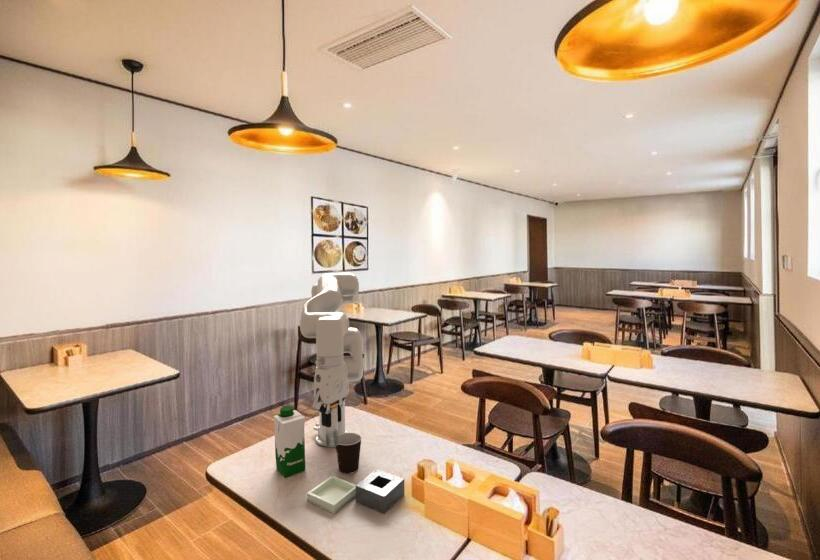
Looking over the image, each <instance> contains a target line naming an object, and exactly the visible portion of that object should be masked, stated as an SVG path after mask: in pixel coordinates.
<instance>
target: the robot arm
mask: <svg viewBox="0 0 820 560" xmlns="http://www.w3.org/2000/svg"><path fill="white" fill-rule="evenodd" d="M359 292H360V283H359V279H358V277H357V276H356V275H355V274H354V273H352V272H329V273H323V274H322V275H321V276H319V278H318V280H317V283H315V284H313V285H312V287H311V298H310V299H308V300H307V301H306V302H305V303H304V305H303V306H302V309H301V312H300V321H299V330H300V333H301V335H302V336H303V337H304V338H306V339H315V342H316V344H315V345H316V346H315V347H316V349H315V350H316V360H315V362H314V363H315V370H314V377H313V403H312V405H311V407H312V408H313V409H316V410H318V412H319V417H318V418H319V422H316V423H315V426H314V427H313V430H314V431H316V432H317V435H316V436H315V442H316V443H317V445H319V446H322V447H328V446H326V427H331V413H329V411H330V404H331V403H334V402H337V404H338V436H339V435H341V434H344V433H349V432H348V430H346V404H345V402H346V400H345V398H346V397H348V395H349V392H350V386H349V385H350V384H349V383H351V382H357V381H360V380H362V378H363V375H364V360H363V359H364V358H363V357H364V355H363V340H362V339H363V338H362V333H361V331H360V330H359V329H358V328H357V327H350V318H349V317H348V316H347V314H346V312H345V313H344V312H343V311H339V309H340V308H341V306H342V304H345V305H346V304H348V305H349V304H354V303H356V302H357V300H358V297H359ZM346 353H348V354H349V355H344V354H346ZM325 405H326V407H325ZM328 448H329V447H328Z"/></svg>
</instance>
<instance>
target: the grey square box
mask: <svg viewBox="0 0 820 560" xmlns="http://www.w3.org/2000/svg"><path fill="white" fill-rule="evenodd" d="M355 485H356V497H355V503H357V504H359V505H362V506H364V507H366V508H369V509H370V510H374V511H375V512H378V513H380V514H384V515H386V514H387V513H388V512H389V511H390V510H391V509H392V508H393V507H395V505H396V504H397V503H398V502H399V501H400V500H401V499H402V498H403V497H404V496H405V478H404V477H401V476H398V475H395V474H392V473H390V472H387V471H383V470H381V469H378V468H375V470H373V471H372V472H371V473H369V474H368V475H367V476H366V477H365V478H363V479H362V480H361V481H359V482H358V483H357V484H355Z"/></svg>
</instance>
